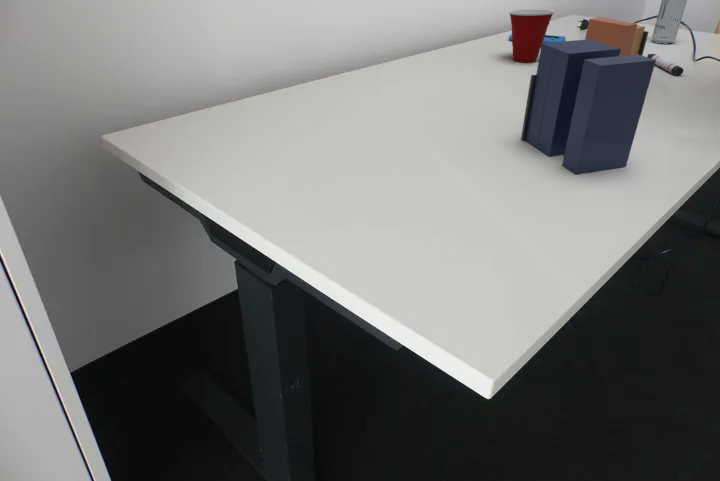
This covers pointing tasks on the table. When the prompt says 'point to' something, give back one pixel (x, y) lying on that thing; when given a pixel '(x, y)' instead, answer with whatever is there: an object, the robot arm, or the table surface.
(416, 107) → the table surface
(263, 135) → the table surface
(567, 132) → the navy books
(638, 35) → the terracotta books
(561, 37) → the handheld gaming device
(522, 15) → the plastic cup
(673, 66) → the marker
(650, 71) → the navy book
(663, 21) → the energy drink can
